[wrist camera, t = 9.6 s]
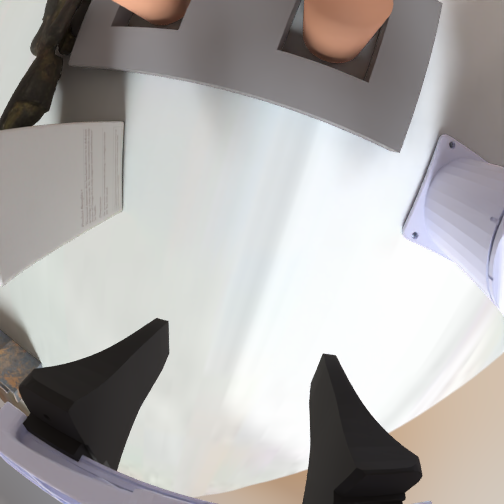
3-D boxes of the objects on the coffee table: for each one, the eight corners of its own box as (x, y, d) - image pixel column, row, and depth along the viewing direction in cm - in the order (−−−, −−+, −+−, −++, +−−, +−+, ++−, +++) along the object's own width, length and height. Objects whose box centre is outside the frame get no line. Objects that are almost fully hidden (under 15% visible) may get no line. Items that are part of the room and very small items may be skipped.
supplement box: (59, 124, 20) (-66, 145, 8) (127, 120, 19) (-18, 131, 7) (59, 206, 22) (-52, 261, 11) (124, 215, 22) (2, 291, 10)
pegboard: (431, 12, 12) (442, 3, 11) (389, 150, 17) (399, 152, 15) (134, -50, 13) (123, -59, 11) (83, 67, 17) (67, 64, 16)
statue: (94, -29, 15) (29, 150, 19) (61, -50, 10) (-20, 147, 14) (141, -48, 14) (68, 150, 18) (108, -76, 9) (10, 144, 13)
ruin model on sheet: (-1, 336, 34) (-35, 368, 25) (-4, 323, 33) (-40, 355, 24) (45, 372, 34) (11, 412, 25) (43, 361, 33) (6, 402, 24)
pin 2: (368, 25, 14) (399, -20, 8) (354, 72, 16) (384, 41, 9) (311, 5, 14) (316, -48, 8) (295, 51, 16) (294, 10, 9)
